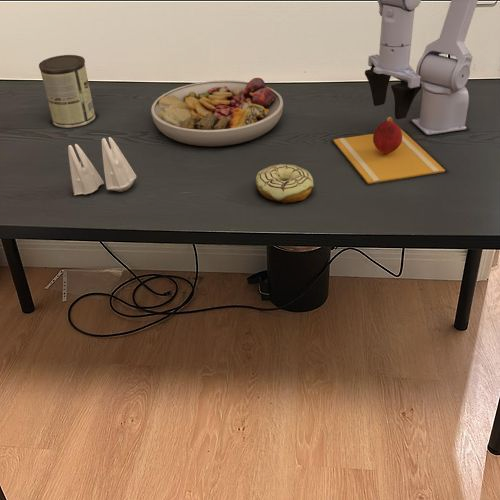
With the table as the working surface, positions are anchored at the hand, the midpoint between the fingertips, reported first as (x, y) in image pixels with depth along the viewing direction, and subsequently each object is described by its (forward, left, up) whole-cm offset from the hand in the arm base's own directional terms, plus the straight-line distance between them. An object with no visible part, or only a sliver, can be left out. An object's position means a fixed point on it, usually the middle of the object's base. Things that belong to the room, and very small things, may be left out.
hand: (389, 111), depth 125 cm
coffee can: (+63, -40, -10) cm, 76 cm away
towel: (0, +1, -9) cm, 9 cm away
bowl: (+30, -26, -10) cm, 41 cm away
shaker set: (+57, -2, -10) cm, 58 cm away
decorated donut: (+24, +9, -10) cm, 28 cm away
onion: (0, +1, -9) cm, 9 cm away
